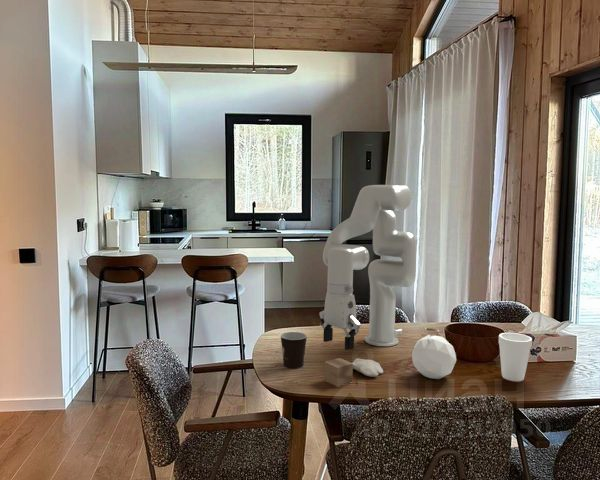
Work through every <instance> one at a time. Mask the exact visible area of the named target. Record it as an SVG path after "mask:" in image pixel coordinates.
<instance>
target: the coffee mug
mask: <svg viewBox="0 0 600 480" xmlns="http://www.w3.org/2000/svg"><path fill="white" fill-rule="evenodd" d="M307 337H308V335H307V334H305V333H304V332H299V331H287V332H284V333H281V334H280V342H281V351H282V361H283V367H285V368H287V369H291V370H293V369H294V370H295V369H301V368H303V366H304V361H305V353H306V347H307V346H306V345H307Z"/></svg>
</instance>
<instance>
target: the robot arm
mask: <svg viewBox="0 0 600 480" xmlns="http://www.w3.org/2000/svg"><path fill="white" fill-rule="evenodd" d="M411 201H412V191H411V190H410V188H409V187H408V186H407V185H403V184H402V185H400V184H393V185H392V184H372V185H366V186H363V187H361V189H360V191H359V193H358V195H357V198H356V200H355V203H354V206H353V209H352V211H351V214H350V216H349V218H347V219H345V220H344V221H342V222H340V224H338V225H337V226H336V227H334V228H333V230H332V231H331V232H330V233H329V234H328V237H327V240H326V243H325V246H323V247H324V248H323V251H322V261H323V264H324V265H326V267H327V282H326V283H327V285H326V289H327V291H326V295H325V300H324V309H323V310H322V311H320V312H319V313H318V314H319V317H320V323H321V325H322V329H323V342H324V343H326V342H331V341H333V338H334V335H333V331H334V328H333V327H335V328H338V329H341V330H343V332H344V333H345V336H344V351H350V350H354V348H355V337H356V335H357V334H358V333H359V330H360V328H361V323H360V322H359V320H357V305H356V300H355V299H356V298H355V294H353V292H354V288H353V287H354V270H355V271H360V270H363V269H364V268H366V267H367V266H368V270H367V273H368V279H369V280H368V281H369V296H370V297H369V325H368V327H369V330H368V334H367V335H366V336H365V338H364V341H365V343H367V344H368V345H372V346H376V347H394V346H396V345H398V344H399V339H398V337H397V336H398V335H401V334H402V333H403V332H404V331H403V329H402V328H397V329H396V328H395V326H396V325H395V324H396V323H395V322H396V299H397V298H396V295H395V294H396V293H395V292H394V290H393V289H392V287H401V288H409V287H412V286H414V284H415V281H416V277H417V275H416V274H417V240H416V239H417V238H416V237H415V235H414V234H413V233H411V232H409V231H408V232H407V231H398V230H397V217H396V214H395V213H394V212H397V211H399V212H400V211H404V210H406V209H407V208H409V206H410V204H411ZM371 231H372V250H373V252H374V254H375V255H377V256H380V257H390V258H400V259H401V260H394V259H381V258H380V259H374V260H373V261H371V262H370V263H369V261H370V253H369V250H368V249H367V248H366V247H365V246H363V245H355V244H343V243H344V242H346V241H348V240H349V239H353V238H356V237H359V236H362V235H364V234H368V233H369V232H371ZM368 264H369V265H368Z"/></svg>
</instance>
